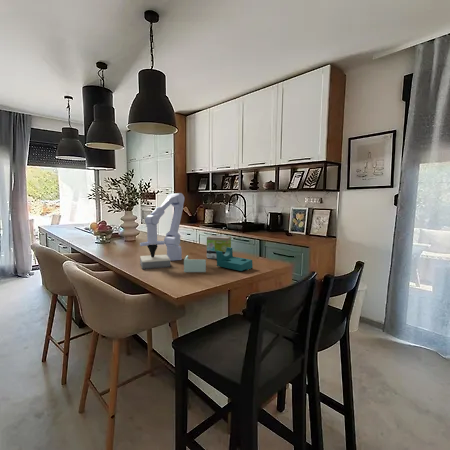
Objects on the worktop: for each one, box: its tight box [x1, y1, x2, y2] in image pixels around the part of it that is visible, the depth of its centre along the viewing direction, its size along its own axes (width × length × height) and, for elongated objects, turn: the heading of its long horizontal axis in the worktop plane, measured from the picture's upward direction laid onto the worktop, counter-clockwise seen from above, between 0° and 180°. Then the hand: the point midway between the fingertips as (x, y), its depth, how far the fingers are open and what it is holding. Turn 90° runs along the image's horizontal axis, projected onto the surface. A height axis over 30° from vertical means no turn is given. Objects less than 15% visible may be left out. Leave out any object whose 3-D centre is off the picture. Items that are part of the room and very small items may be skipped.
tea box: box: [206, 235, 232, 260], centre depth 193 cm, size 15×10×15 cm
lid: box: [139, 253, 170, 262], centre depth 170 cm, size 16×14×1 cm
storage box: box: [139, 257, 171, 270], centre depth 170 cm, size 16×14×4 cm
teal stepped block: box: [216, 247, 254, 272], centre depth 165 cm, size 18×11×10 cm, turn 50°
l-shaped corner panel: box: [183, 255, 207, 273], centre depth 162 cm, size 12×12×8 cm
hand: (152, 256), depth 172 cm, fingers closed, pressing on lid
